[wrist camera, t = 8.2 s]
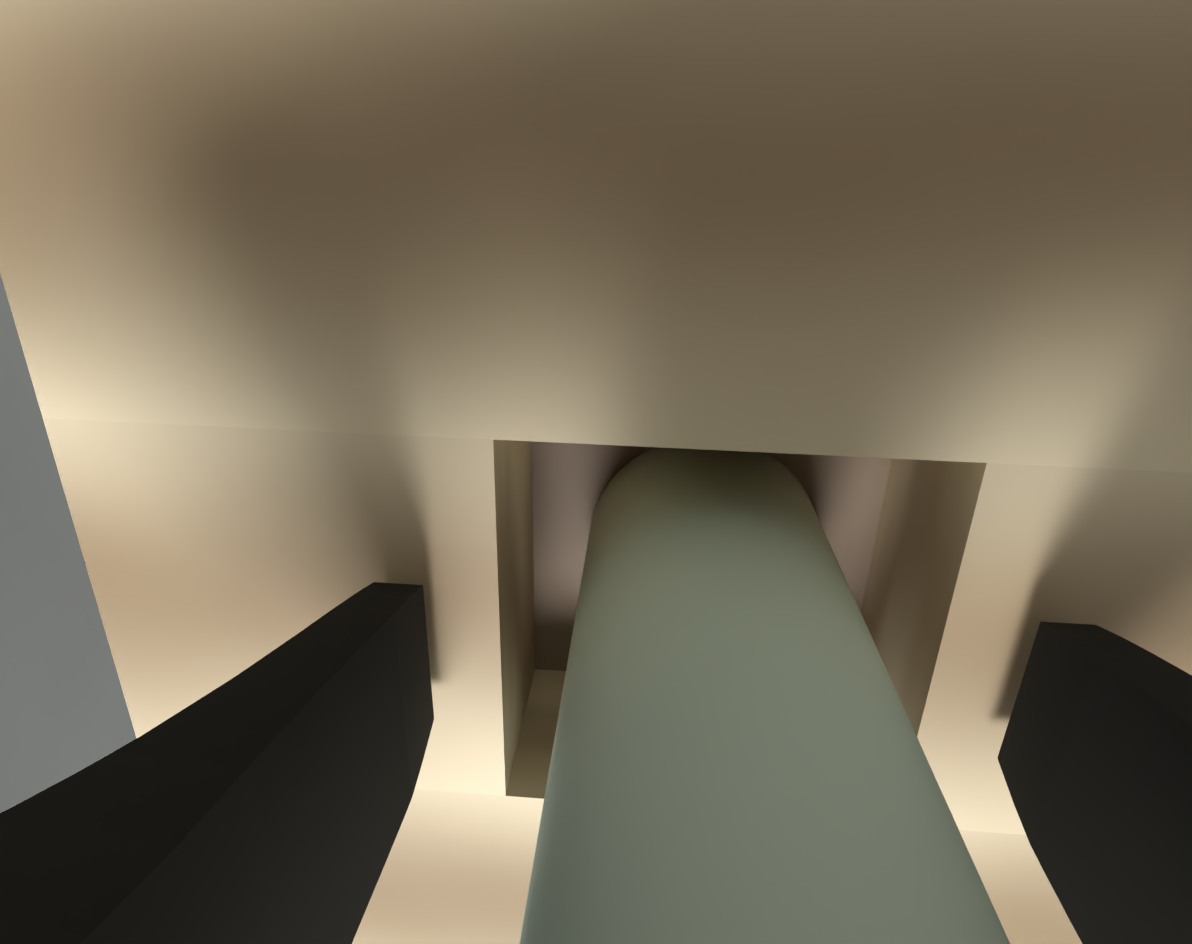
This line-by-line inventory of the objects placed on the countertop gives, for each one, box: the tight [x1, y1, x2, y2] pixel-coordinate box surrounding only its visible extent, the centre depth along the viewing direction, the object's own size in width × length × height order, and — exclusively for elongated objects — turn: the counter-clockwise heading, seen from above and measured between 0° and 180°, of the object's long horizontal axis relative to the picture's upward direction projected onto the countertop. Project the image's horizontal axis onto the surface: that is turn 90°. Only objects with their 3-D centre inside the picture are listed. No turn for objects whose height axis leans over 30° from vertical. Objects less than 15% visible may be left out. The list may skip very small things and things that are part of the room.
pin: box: [520, 447, 1010, 944], centre depth 8 cm, size 4×4×8 cm
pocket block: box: [0, 0, 1192, 944], centre depth 11 cm, size 16×16×3 cm
